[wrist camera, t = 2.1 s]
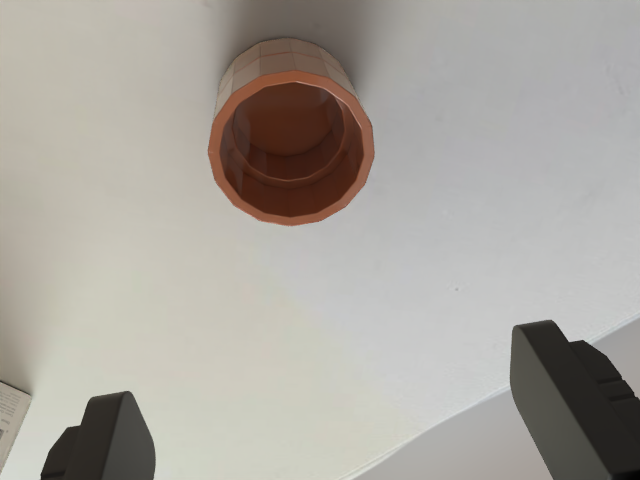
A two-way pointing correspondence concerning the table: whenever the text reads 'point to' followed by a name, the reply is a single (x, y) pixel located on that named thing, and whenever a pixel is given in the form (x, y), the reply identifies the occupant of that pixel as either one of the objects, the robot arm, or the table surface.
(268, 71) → the terracotta flower pot
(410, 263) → the table surface
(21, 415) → the ink cartridge box
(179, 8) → the table surface
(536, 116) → the table surface
